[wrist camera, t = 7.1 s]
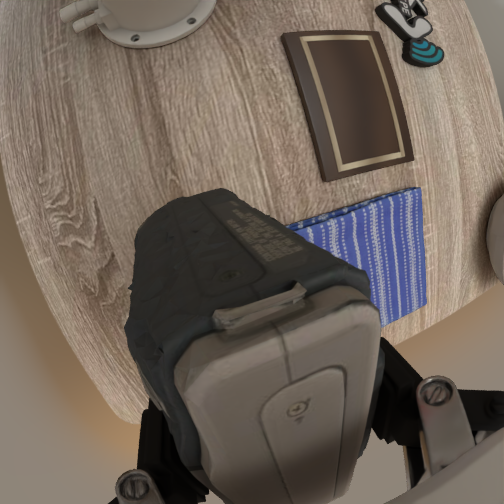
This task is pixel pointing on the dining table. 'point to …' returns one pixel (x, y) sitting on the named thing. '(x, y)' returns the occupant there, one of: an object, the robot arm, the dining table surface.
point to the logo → (411, 31)
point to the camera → (254, 350)
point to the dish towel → (379, 247)
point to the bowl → (496, 238)
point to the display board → (349, 100)
